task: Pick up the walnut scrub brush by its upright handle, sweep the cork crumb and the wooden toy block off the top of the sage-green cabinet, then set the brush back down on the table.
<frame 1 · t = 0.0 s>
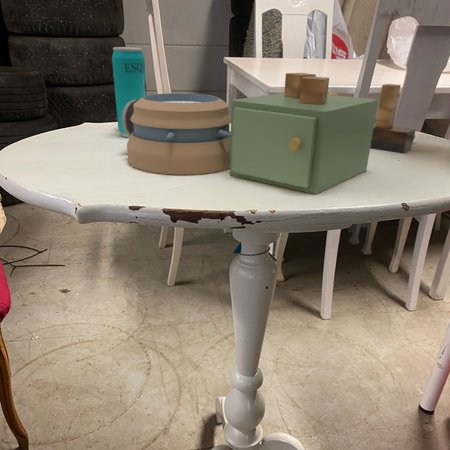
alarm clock: (177, 158, 76), on the table
lion figurine: (323, 127, 104), on the table
brush: (380, 147, 86), on the table
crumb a: (312, 102, 62), point 10 cm above the table, touching cabinet
cabinet: (299, 172, 69), on the table
beverage can: (134, 136, 91), on the table
wooden toy block: (298, 97, 67), point 10 cm above the table, touching cabinet
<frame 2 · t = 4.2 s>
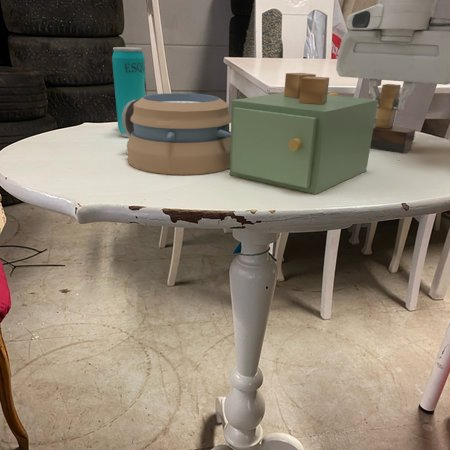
hand: (387, 108, 83), 7 cm above the table, tool pointing down, fingers closed on brush, 2 cm apart
brush: (380, 147, 86), on the table, touching gripper
everything else where it was.
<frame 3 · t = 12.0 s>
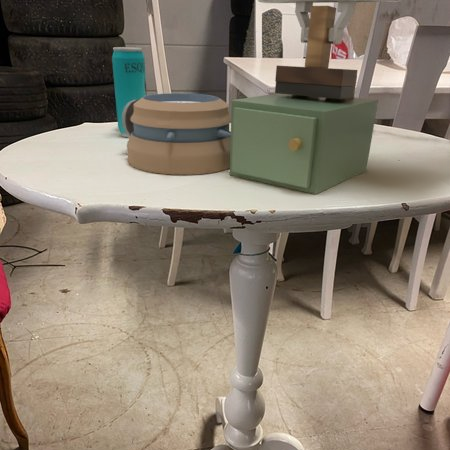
hand: (320, 43, 62), 17 cm above the table, tool pointing down, fingers closed on brush, 2 cm apart
brush: (312, 95, 65), point 10 cm above the table, touching wooden toy block, gripper
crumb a: (339, 98, 66), point 10 cm above the table, touching cabinet
wooden toy block: (305, 94, 69), point 10 cm above the table, touching brush
everything else where it was.
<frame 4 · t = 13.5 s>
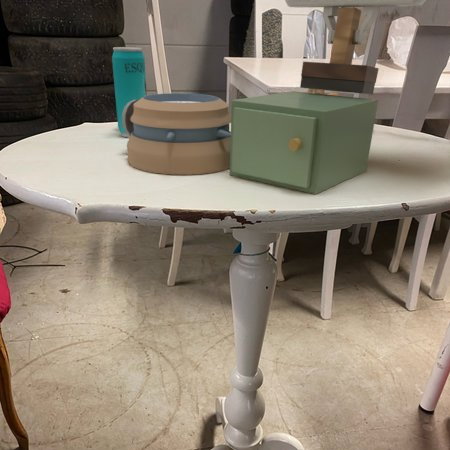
hand: (346, 44, 67), 17 cm above the table, tool pointing down, fingers closed on brush, 2 cm apart
brush: (335, 91, 69), point 11 cm above the table, tilted 7°, touching gripper
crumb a: (352, 142, 75), point 3 cm above the table, tilted 180°
wooden toy block: (322, 136, 78), point 3 cm above the table, tilted 180°
everything else where it was.
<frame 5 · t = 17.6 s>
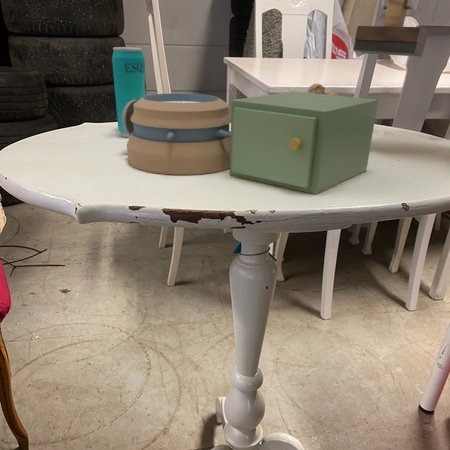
hand: (398, 9, 73), 21 cm above the table, tool pointing down, fingers closed on brush, 2 cm apart
brush: (387, 53, 75), point 15 cm above the table, tilted 7°, touching gripper
everything else where it was.
when the fingers open (6 cm above the table, at t = 21.1 s): brush stays where it is, on the table.
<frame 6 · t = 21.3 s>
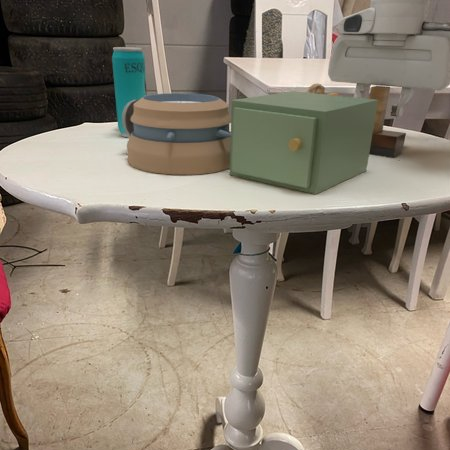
hand: (379, 114, 81), 6 cm above the table, tool pointing down, fingers open, 4 cm apart
brush: (369, 151, 83), on the table
everything else where it was.
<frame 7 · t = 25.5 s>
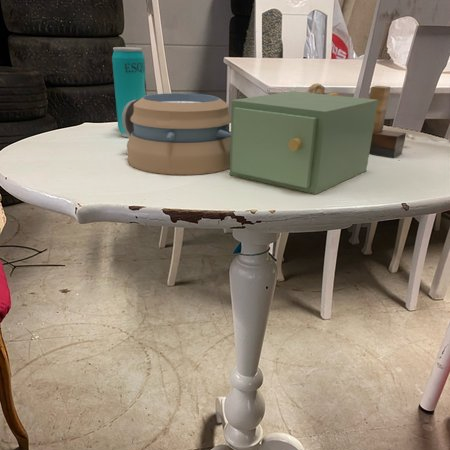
nothing on the table moved.
at the end: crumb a point 3.0 cm above the table; wooden toy block point 3.0 cm above the table; brush inside the target area (2.0 cm from its centre), on the table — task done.
